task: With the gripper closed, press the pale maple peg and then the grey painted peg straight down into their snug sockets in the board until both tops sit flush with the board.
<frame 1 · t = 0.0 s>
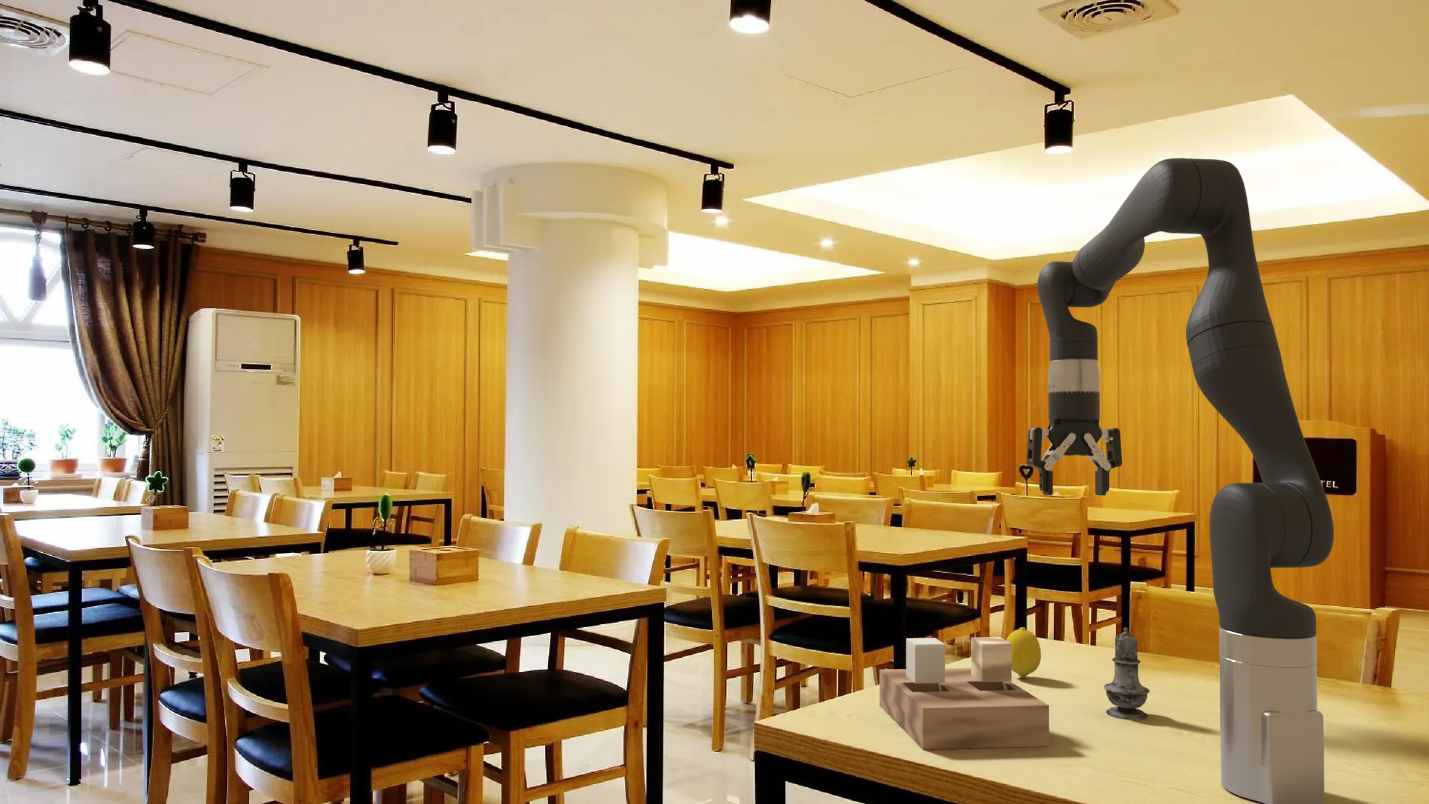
hand: (1074, 495, 153), 29 cm above the table, fingers open, 8 cm apart
salt shaker: (1126, 715, 137), on the table
lemon: (1022, 679, 157), on the table
peg 2: (991, 659, 132), point 8 cm above the table, slide at 6.0 cm
peg 1: (925, 660, 131), point 8 cm above the table, slide at 6.0 cm
socket board: (958, 724, 131), on the table
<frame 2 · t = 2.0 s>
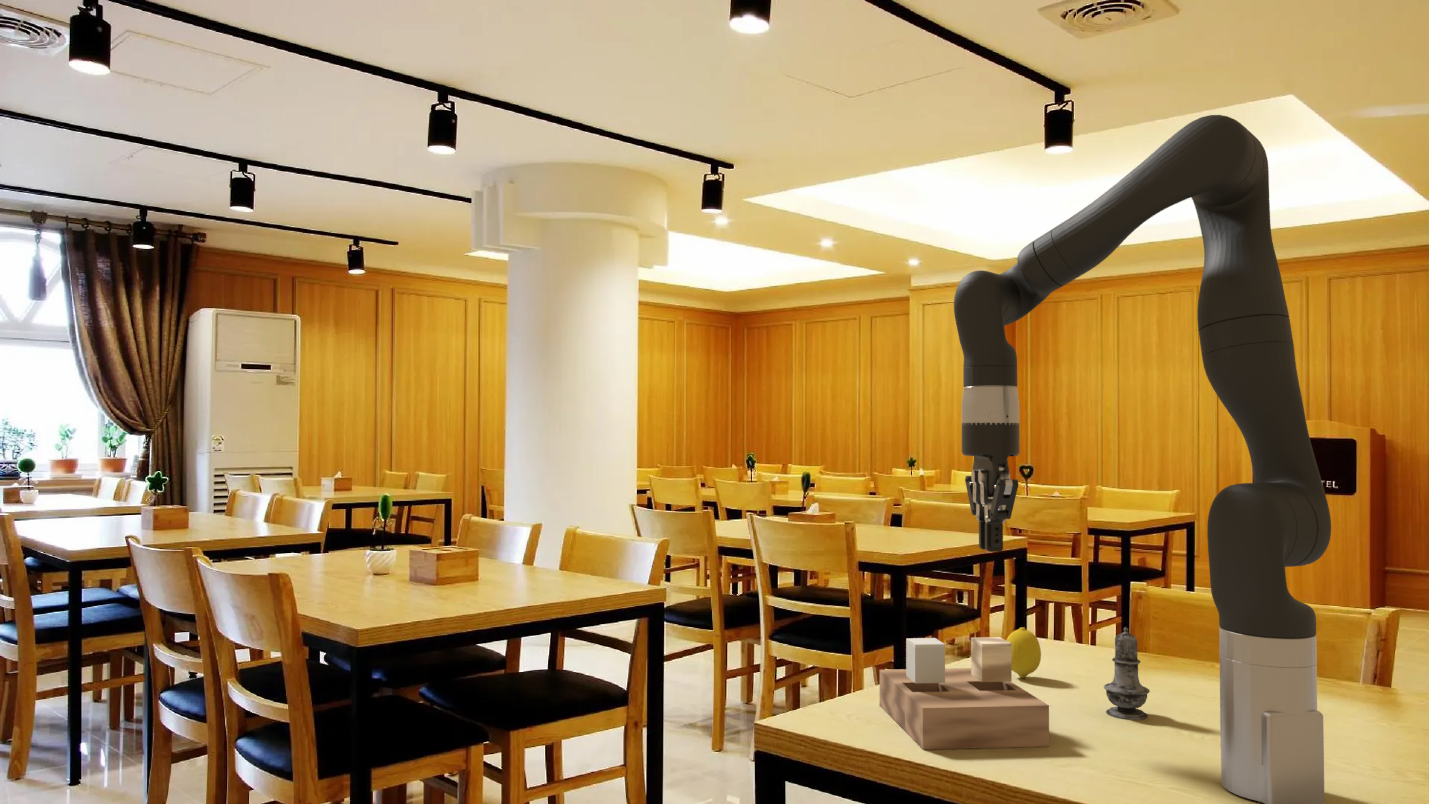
hand: (990, 549, 133), 23 cm above the table, fingers closed
nothing on the table moved.
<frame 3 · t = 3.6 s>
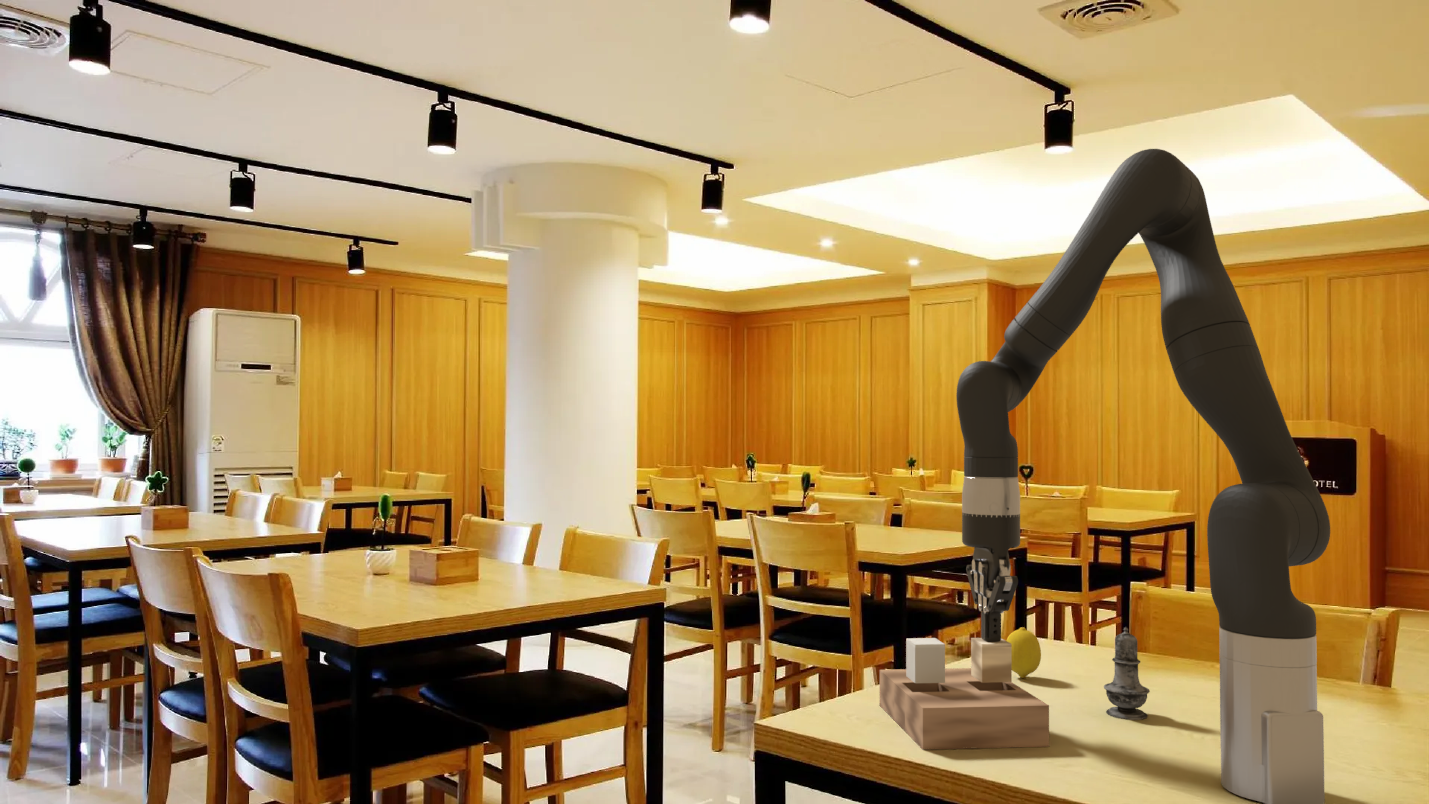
hand: (991, 640, 132), 11 cm above the table, fingers closed
peg 2: (991, 659, 132), point 8 cm above the table, slide at 5.9 cm, touching gripper
everything else where it was.
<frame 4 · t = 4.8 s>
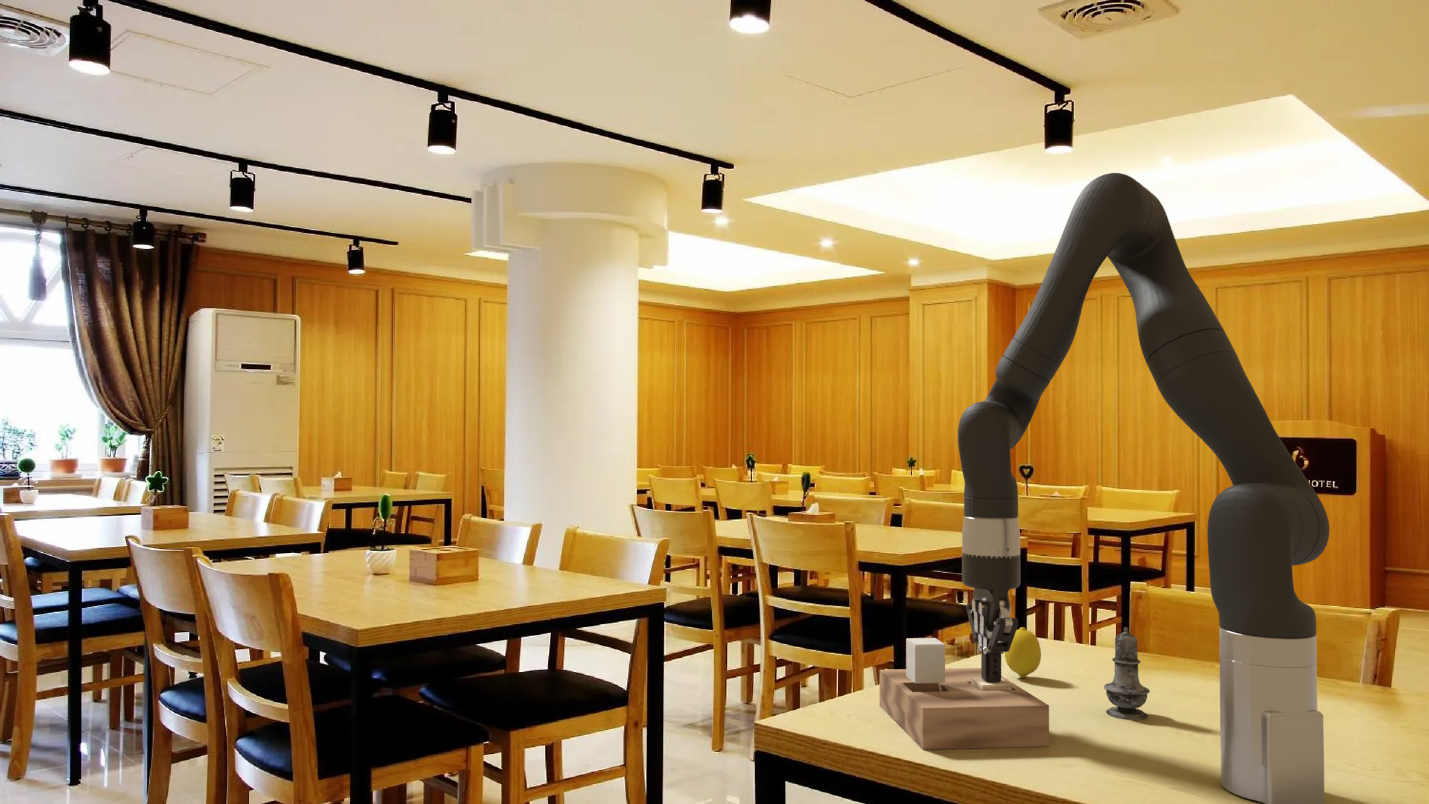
hand: (991, 681, 132), 6 cm above the table, fingers closed
peg 2: (991, 700, 132), point 3 cm above the table, slide at 0.6 cm, touching gripper
everything else where it was.
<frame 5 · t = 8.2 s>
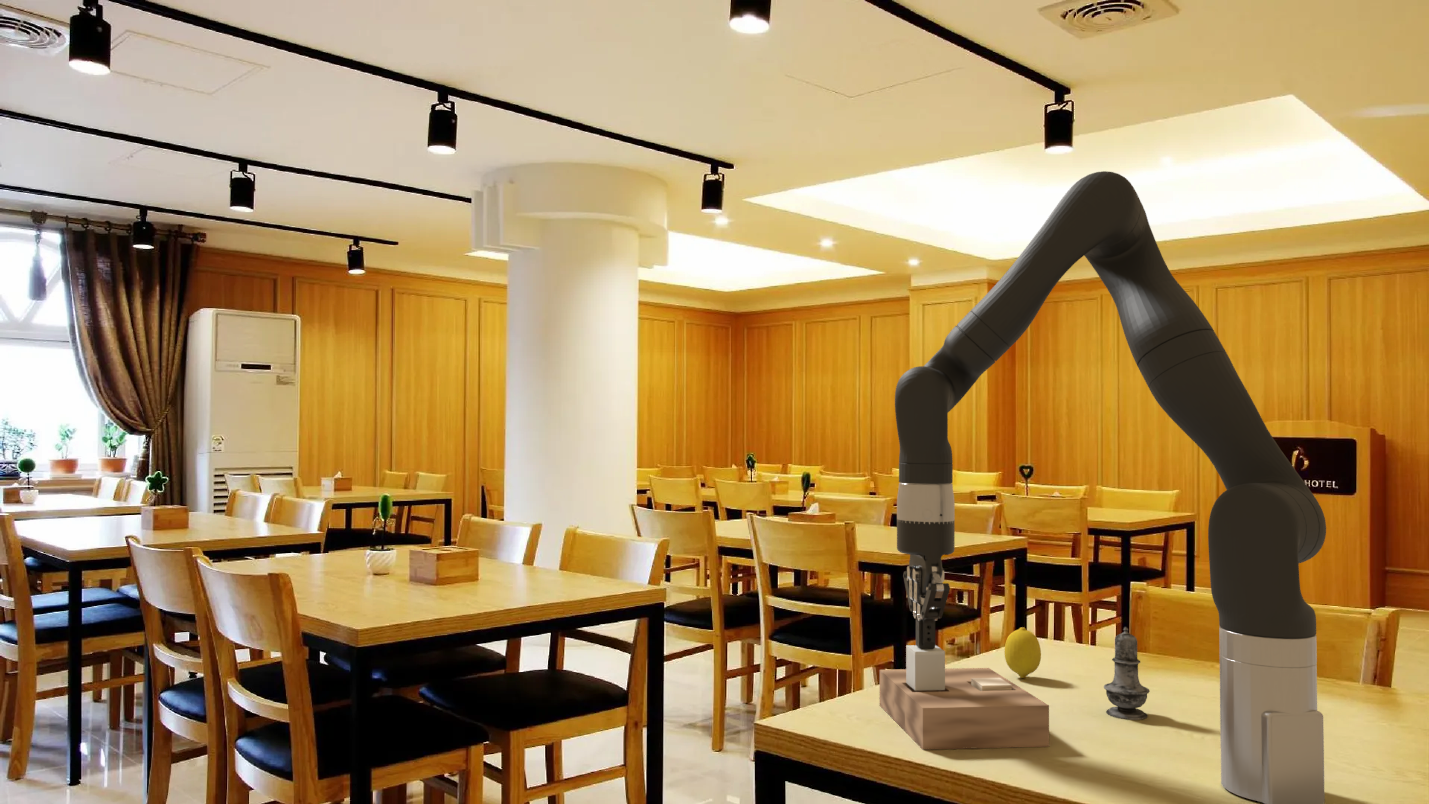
hand: (925, 648, 131), 10 cm above the table, fingers closed
peg 2: (991, 700, 132), point 3 cm above the table, slide at 0.5 cm
peg 1: (925, 667, 131), point 8 cm above the table, slide at 5.1 cm, touching gripper
everything else where it was.
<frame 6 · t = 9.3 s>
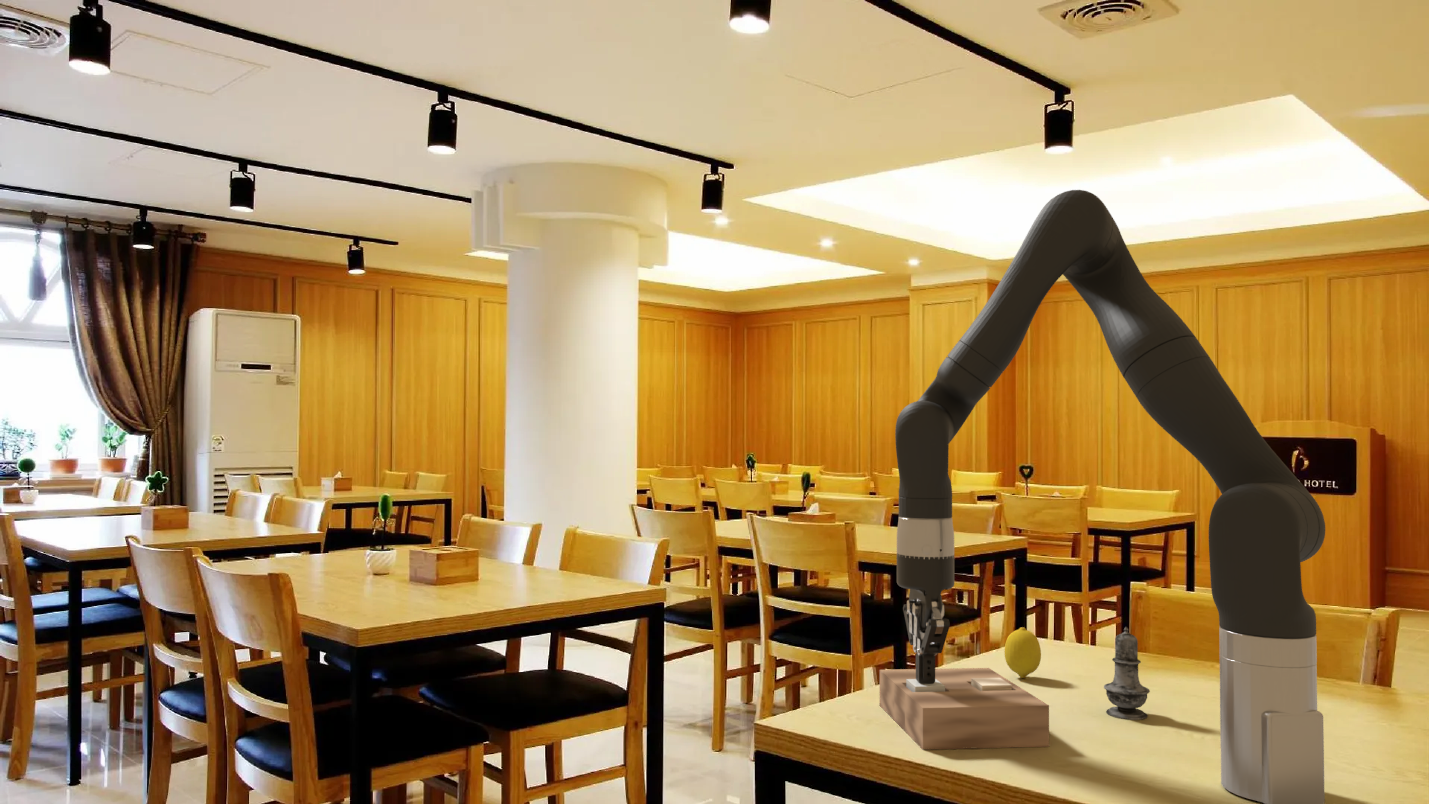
hand: (925, 682, 131), 6 cm above the table, fingers closed
peg 1: (925, 701, 131), point 3 cm above the table, slide at 0.6 cm, touching gripper
everything else where it was.
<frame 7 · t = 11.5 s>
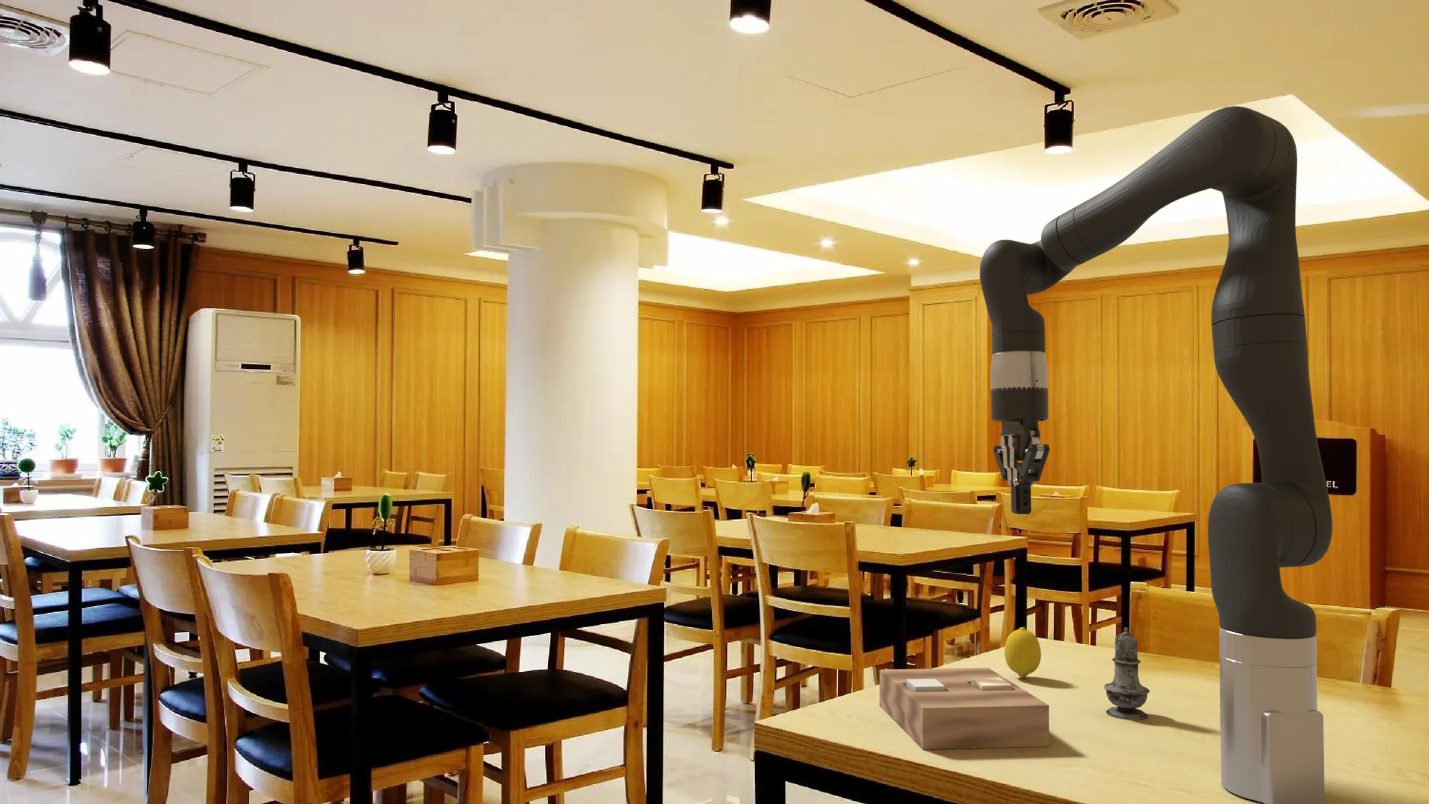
hand: (1021, 513, 135), 28 cm above the table, fingers closed
peg 1: (925, 701, 131), point 3 cm above the table, slide at 0.6 cm
everything else where it was.
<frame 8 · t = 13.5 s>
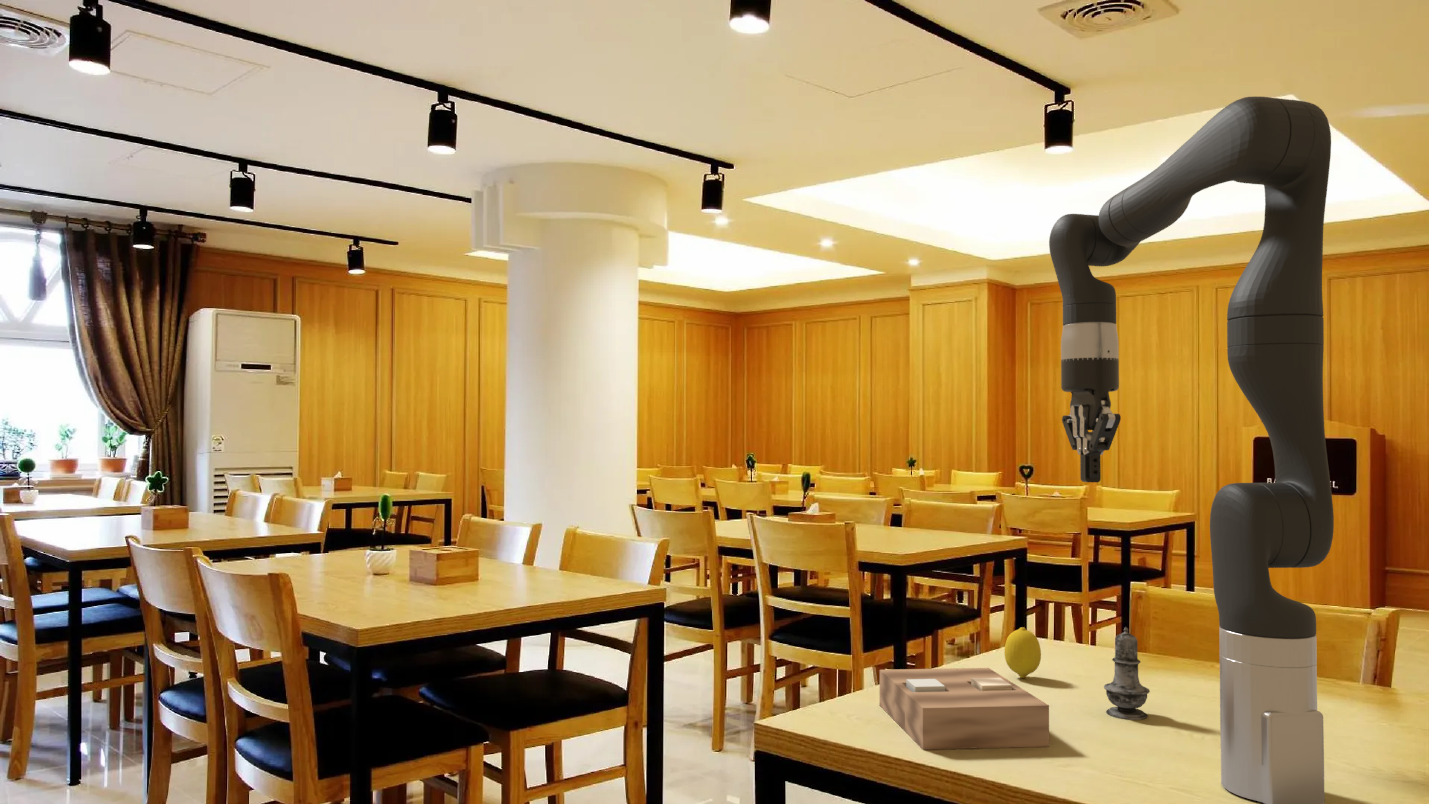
hand: (1090, 481, 138), 32 cm above the table, fingers closed
nothing on the table moved.
at the end: peg 2 slide at 0.5 cm; peg 1 slide at 0.6 cm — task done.
